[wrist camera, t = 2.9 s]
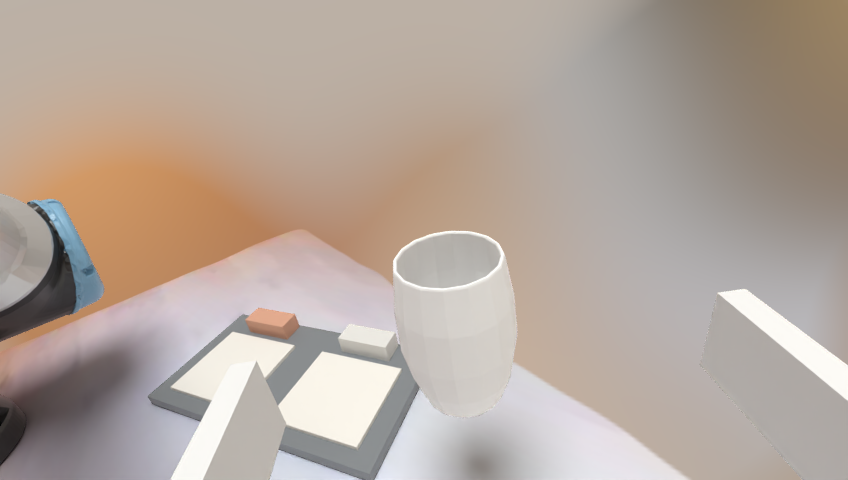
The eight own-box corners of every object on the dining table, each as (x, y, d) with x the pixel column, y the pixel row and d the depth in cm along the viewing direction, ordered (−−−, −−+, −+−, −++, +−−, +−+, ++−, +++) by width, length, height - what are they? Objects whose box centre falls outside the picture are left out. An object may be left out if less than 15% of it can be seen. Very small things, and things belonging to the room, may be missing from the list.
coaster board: (152, 403, 44) (138, 383, 42) (245, 321, 55) (237, 302, 53) (372, 482, 32) (364, 458, 31) (433, 358, 43) (429, 336, 42)
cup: (415, 500, 31) (356, 281, 21) (455, 424, 36) (422, 221, 26) (505, 547, 27) (484, 310, 17) (534, 455, 32) (531, 234, 23)
